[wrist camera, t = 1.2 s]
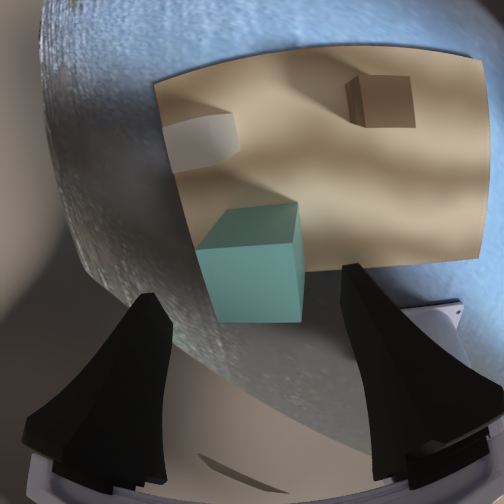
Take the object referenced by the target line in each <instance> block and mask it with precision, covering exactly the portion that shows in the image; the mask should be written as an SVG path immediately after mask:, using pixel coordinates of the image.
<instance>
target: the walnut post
mask: <svg viewBox="0 0 504 504" xmlns="http://www.w3.org/2000/svg"><path fill="white" fill-rule="evenodd" d="M345 89H346V95H347V101H348V108H349V115H350V122H351V124H355V125H358V126H361V127H364V128H416V122H415V112H414V103H413V95H412V88H411V82H410V76H396V75H357V76H356V77H355V78H353V79H352V80H350V81H349V82H348V83H346V84H345Z"/></svg>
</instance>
